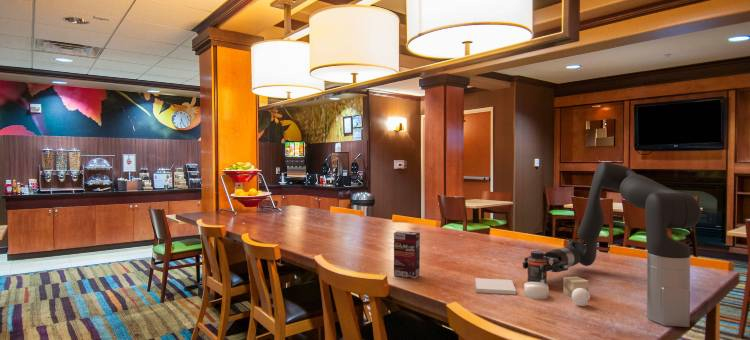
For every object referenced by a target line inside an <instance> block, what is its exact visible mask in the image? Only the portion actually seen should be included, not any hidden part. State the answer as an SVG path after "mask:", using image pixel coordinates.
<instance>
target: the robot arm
mask: <svg viewBox="0 0 750 340" xmlns="http://www.w3.org/2000/svg"><path fill="white" fill-rule="evenodd" d="M591 181H592V182H591V185H590V189H589V194H588V197H587V199H588V200H587V203H586V208H585V210H584V215H583V217H582V219H581V222H580V225H579V228H578V231H577V236H578V237H579V239H581V240H582V241H583V242H584V243H585V244H584V243H583V242H580V241H578V240H570V241H569V242H567V245H566V246H564V247H559V248H558V247H557V248H554V249H550V250H547V251H545V252H544V258H545V259H546V260H547V264H545V265H542V266H541V272H551V273H560V272H567V271H568V270H569V269H570V268H571V267H574V266H576V265H578V264H581V265H582V266H584V267H589V266H591V265H593V264H594V262H595V260H596V259H597V253H598V252H597V251H598V250H597V247H598V239H599V236H600V234H601V231H602V229H603V227H604V222H605V216H604V210H603V208H602V203H601V202H602V201H601V194H602V190H603V189H606V190H611V191H613V192H619V193H620V196H621V197H622V199H623V200H624V201H626V202H627V203H629V204H630V205H631V206H633V207H635V208H638V209H641V210H644V214H645V215H644V216H645V240H646V247H647V249H646V250H647V257H646V260H647V261H646V318H648V320H650V321H652V322H654V323H657V324H659V325H661V326H664V327H665V326H669V327H670V326H671V327H683V328H690V327H691V326H690V322H691V319H690V318H691V317H690V315H691V313H690V312H691V280H690V279H691V246H690V245H689V244H687V243H685V242H682V241H679V240H676V239H673V238H672V237H670V236H669V235H668V231H667V229H677V230H678V229H679V230H680V229H681V230H682V229H684V230H685V229H689V228H692V227H694V226H696V225H697V224H698V223H699V221H700V220H701V217H702V210H701V206H700V204H699V202H698V201H697V199H696V198H695V197H694V196H692V194H689V193H687V192H682V191H679V190H675V189H673V188H669V187H667V186H666V185H663V184H662V183H659V182H658V181H654V179H651V178H648V177H646V176H644V175H643V174H642V175H641V174H637V173H636V172H635V171H634V170H633V169H631V168H629V167H628V166H626V165H622V164H617V163H613V162H608V161H602V162H600V163H599V164H598V165H597V167H596V168H595V171H594V174H593V177H592V180H591ZM530 257H531V255H529V256H527V257H524V261H523V262H522V268H523V269H528V258H530Z"/></svg>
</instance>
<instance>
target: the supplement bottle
mask: <svg viewBox="0 0 750 340" xmlns="http://www.w3.org/2000/svg"><path fill="white" fill-rule="evenodd" d="M544 254H545V252H544V251H540V250H531V251H530V256H531V257H530V258H528V268H527V282H541V283H545V284H547V278H548V277H547V276H548V273H547V272H548V271H547V272H541V266H542V265H545V264H547V260H546V259H545V258H544ZM547 285H548V284H547Z"/></svg>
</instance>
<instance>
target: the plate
mask: <svg viewBox="0 0 750 340" xmlns="http://www.w3.org/2000/svg"><path fill="white" fill-rule="evenodd" d="M474 283H475V292H476V293H479V294H480V293H483V294H484V293H485V294H500V295H501V294H502V295H517V289H516V287H515V285H514V282H513V280H512V279H502V278H501V279H498V278H495V279H494V278H478V277H475V278H474Z"/></svg>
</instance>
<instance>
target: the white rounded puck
mask: <svg viewBox="0 0 750 340" xmlns="http://www.w3.org/2000/svg"><path fill="white" fill-rule="evenodd" d="M523 284H524V289H523V291H524V293H523V295H524V297H526V298H529V299H532V300H547V299H549V297H550V296H549V291H550V290H549V285H548V284H545V283H541V282H528V281H526V282H524V283H523Z"/></svg>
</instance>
